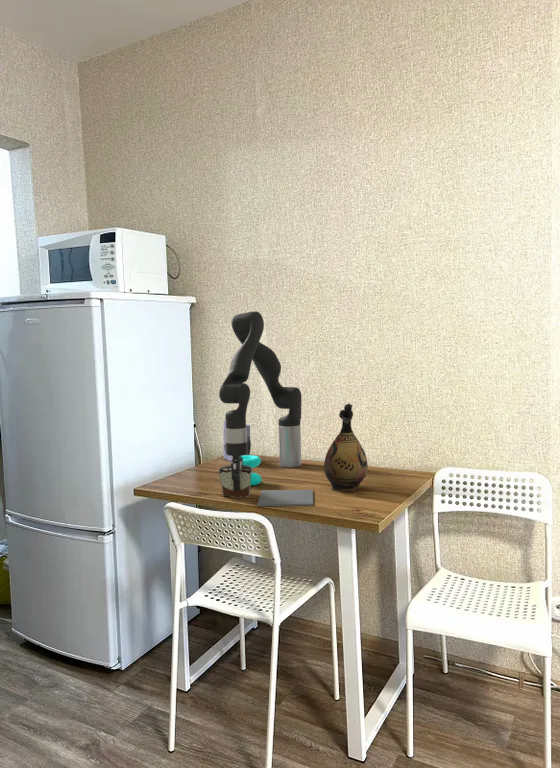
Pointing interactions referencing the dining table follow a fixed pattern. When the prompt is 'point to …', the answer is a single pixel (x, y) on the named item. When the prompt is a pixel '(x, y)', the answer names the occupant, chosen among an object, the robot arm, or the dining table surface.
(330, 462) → the ceramic jug
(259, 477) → the donuts
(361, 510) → the dining table surface
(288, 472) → the dining table surface
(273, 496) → the mat
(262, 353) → the robot arm
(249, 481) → the food container
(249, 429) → the cake pan box
